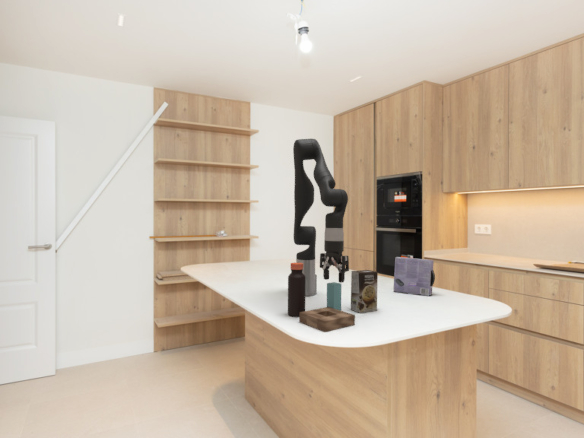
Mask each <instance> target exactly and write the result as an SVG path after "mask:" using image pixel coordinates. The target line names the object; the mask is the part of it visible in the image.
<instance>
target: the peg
mask: <svg viewBox="0 0 584 438" xmlns="http://www.w3.org/2000/svg"><path fill="white" fill-rule="evenodd" d="M326 307H330V308H334V309H337V310H340V311H342V283H340V282H336V281H331V282H327V283H326Z"/></svg>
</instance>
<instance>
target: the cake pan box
mask: <svg viewBox="0 0 584 438" xmlns="http://www.w3.org/2000/svg"><path fill="white" fill-rule="evenodd" d="M394 257H395V256H394ZM394 259H395V260H394V272H393V273H394V274H393V292H396V293H401V292H403V293H404V294H408V293H412V294H411V295H417V294H422V295H421V296H425V295H431V294H432V295H433V286H434V284H435V280H436V274H435V272H434V259H426V258H425V259H424V258H423V259H422V258H416V257H415V258H412V257H402V256H401V257H400V256H396V257H395V258H394ZM432 295H431V296H432Z"/></svg>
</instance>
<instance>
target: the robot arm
mask: <svg viewBox="0 0 584 438" xmlns="http://www.w3.org/2000/svg"><path fill="white" fill-rule="evenodd" d="M292 154H293V165H294V166H293V167H294V195H293V196H294V198H293V199H294V200H293V201H294V221H293V222H294V223H293V242H294V245H297V246H308V247H307V248H306V249H305V250H302V251H299V252H297V253H296V260H295V261H296V262H295V263H303V271H302V273H303V274H304V275H305V277H306V278H305V297H311V296H315V295H317V293H318V290H317V289H318V287H317V285H318V284H317V282H318V281H317V278H318V276H317V274H316V244H317V243H316V241H317V229H316V227H315V226H314V225H313V226H311V225H308V226H307V225H302V222H303V220H304V218H305V216H306V215H307V213H308V212H309V211H310V209H311V208H312V206H313V204H314V201H315V187H314V184H313V182H312V180H311V179H310V178H309V177H308V174H307V173H306V170H305V167H304V161H309V160H311V161H312V160H314V161H315V165H314V169H313V179H314V181H315V183H316V185H317V187H318V190H319V195H320V201H321V203H322V205H324V207H327V208H329V207H334V210H333V211H332V212H327V213H326V214H325V221H324V222H325V225H324V226H325V228H324V243H323V245H324V247H323V248H324V252H321V253H320V254H319V268H320V269H322V270H323V276H322V277H323V280H327V281H328V280H329V279H330V267H331V266H333V267H335V268H336V269H337V270H338V283H340V284H342V283H344V282H345V275H346V274H345V273H346V272H349V271H350V262H349V261H350V260H349V259H350V258H349V255H343V252H344V248H345V246H344V244H345V243H344V242H345V241H344V240H345V239H344V236H345V235H344V234H345V233H344V216H345V212H346V210H347V206H348V201H349V197H348V193H347V191H346V190H345V189H342V188H335V187H336V181H335V178H334V177H333V175H332V173H331V172H330V170H329V168H328V166H327V163H326V159H325V157H324V154H323V152H322V148H321V146H320V143H319V142H318V140H317V139H316V138H300V139H298V138H297V139H296V140H294V144H293V153H292Z"/></svg>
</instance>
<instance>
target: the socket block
mask: <svg viewBox="0 0 584 438" xmlns="http://www.w3.org/2000/svg"><path fill="white" fill-rule="evenodd" d="M355 316H356V315H355V314H353V313H349V312H346V311H344V310H341V311H340V310H337V309H334V308H330V307H327V306H326V307H320V308H315V309H310V310H305V311H304V312H299V317H298V318H299V323H301V324H304V325H305V326H306V325H307V326H309V327H312V328H314V329H317V330H320V331H322V332H324V333H326V332H330V331H334V330H339V329H342V328H347V327H351V326H354V325H355V323H356V322H355V320H356V319H355V318H356V317H355Z"/></svg>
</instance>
